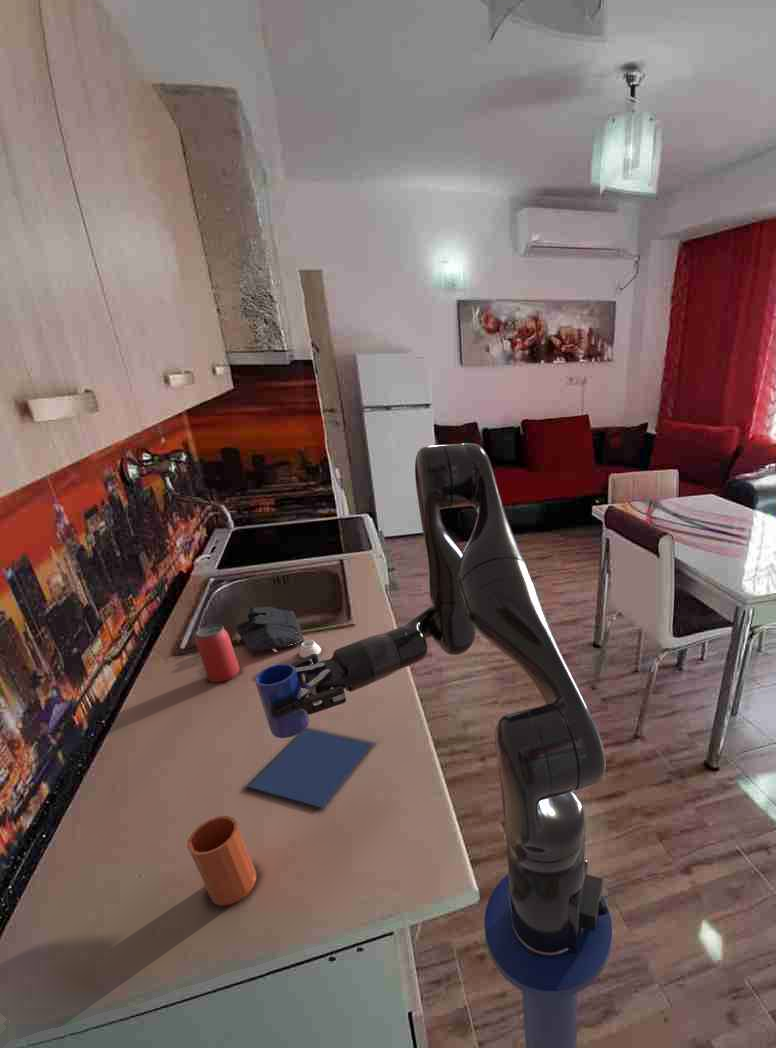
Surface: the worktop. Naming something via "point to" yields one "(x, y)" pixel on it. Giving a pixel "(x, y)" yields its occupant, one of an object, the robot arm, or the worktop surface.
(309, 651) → the lidless jar
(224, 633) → the beer can
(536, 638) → the robot arm
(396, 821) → the worktop surface
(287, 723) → the blue cup
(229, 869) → the terracotta cup
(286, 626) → the dark slate chunk
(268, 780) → the blue mat
